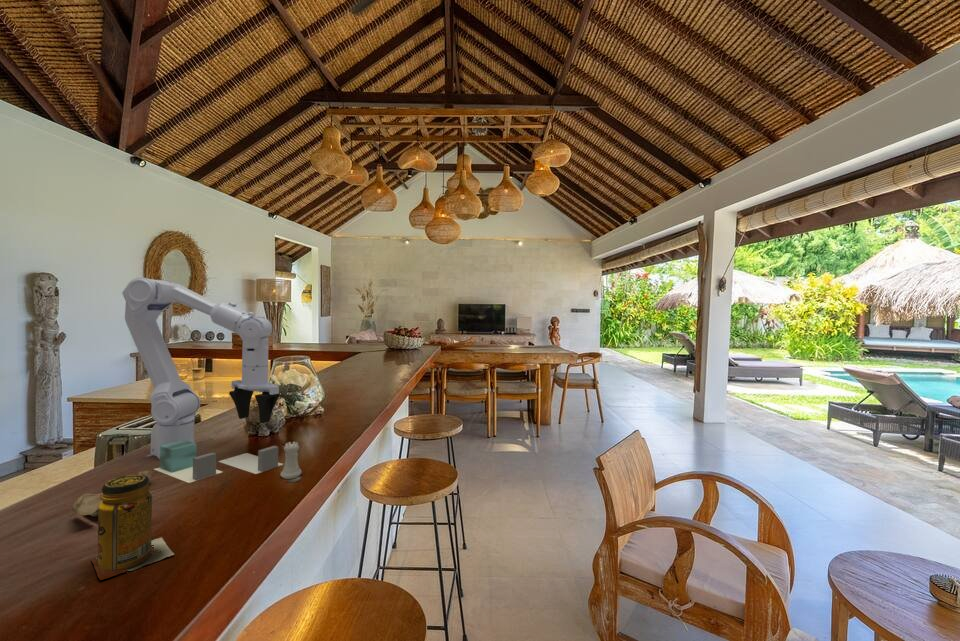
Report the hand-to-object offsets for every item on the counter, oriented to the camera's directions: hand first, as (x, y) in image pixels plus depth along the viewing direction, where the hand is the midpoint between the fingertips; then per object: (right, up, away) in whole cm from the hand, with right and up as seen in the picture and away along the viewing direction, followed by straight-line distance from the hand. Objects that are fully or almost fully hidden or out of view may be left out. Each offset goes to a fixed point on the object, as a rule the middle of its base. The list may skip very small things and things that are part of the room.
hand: (254, 420), depth 104 cm
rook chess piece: (+15, -10, -12) cm, 22 cm away
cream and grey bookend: (+2, -10, -6) cm, 11 cm away
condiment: (+5, -11, -42) cm, 44 cm away
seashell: (-11, -10, -26) cm, 30 cm away
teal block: (-12, -8, -9) cm, 17 cm away
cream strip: (-9, -9, -11) cm, 17 cm away
